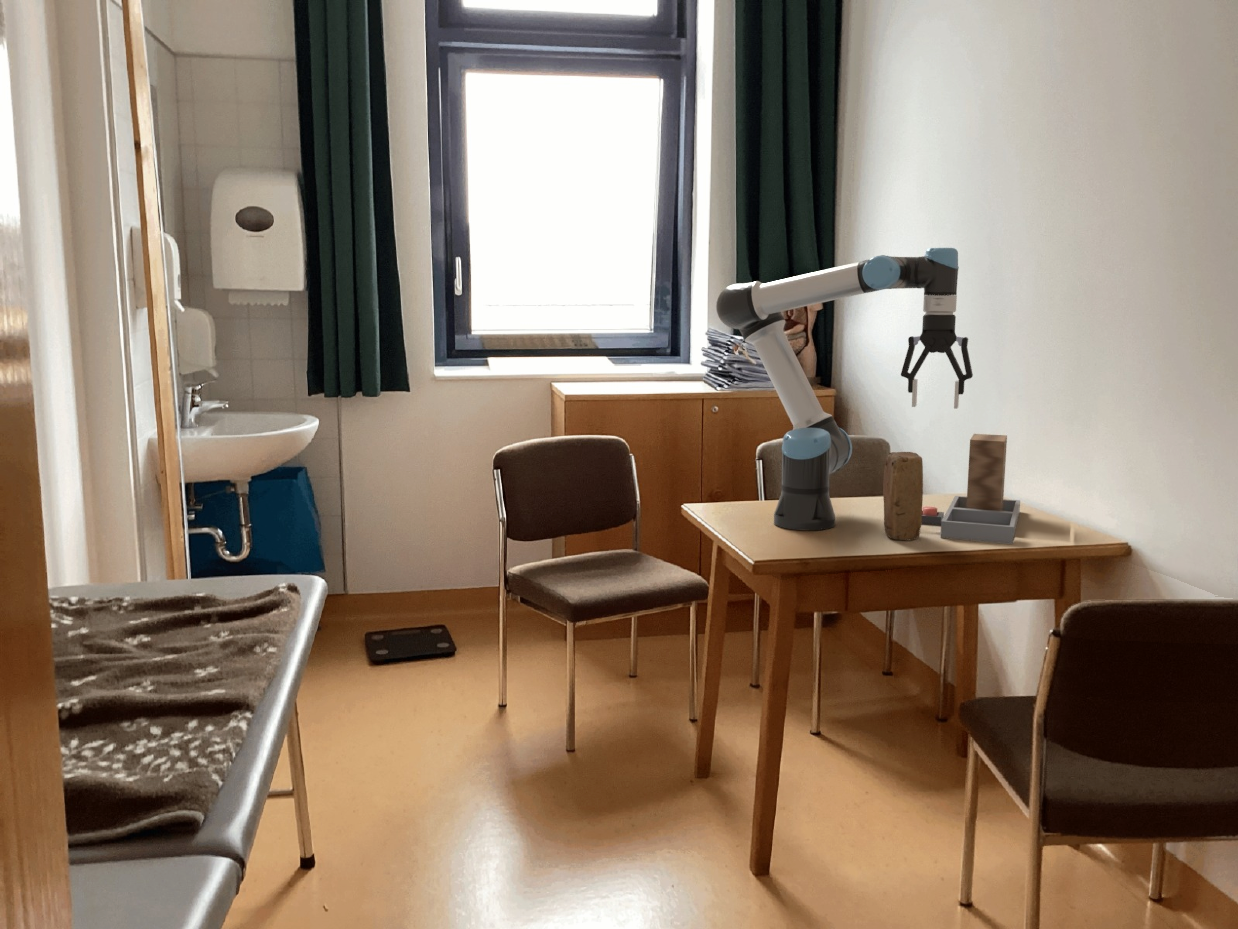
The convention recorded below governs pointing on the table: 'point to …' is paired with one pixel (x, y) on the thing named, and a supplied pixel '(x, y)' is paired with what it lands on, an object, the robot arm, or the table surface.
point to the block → (903, 495)
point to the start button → (930, 511)
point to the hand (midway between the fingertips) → (934, 407)
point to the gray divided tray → (980, 522)
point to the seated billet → (986, 472)
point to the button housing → (932, 519)
